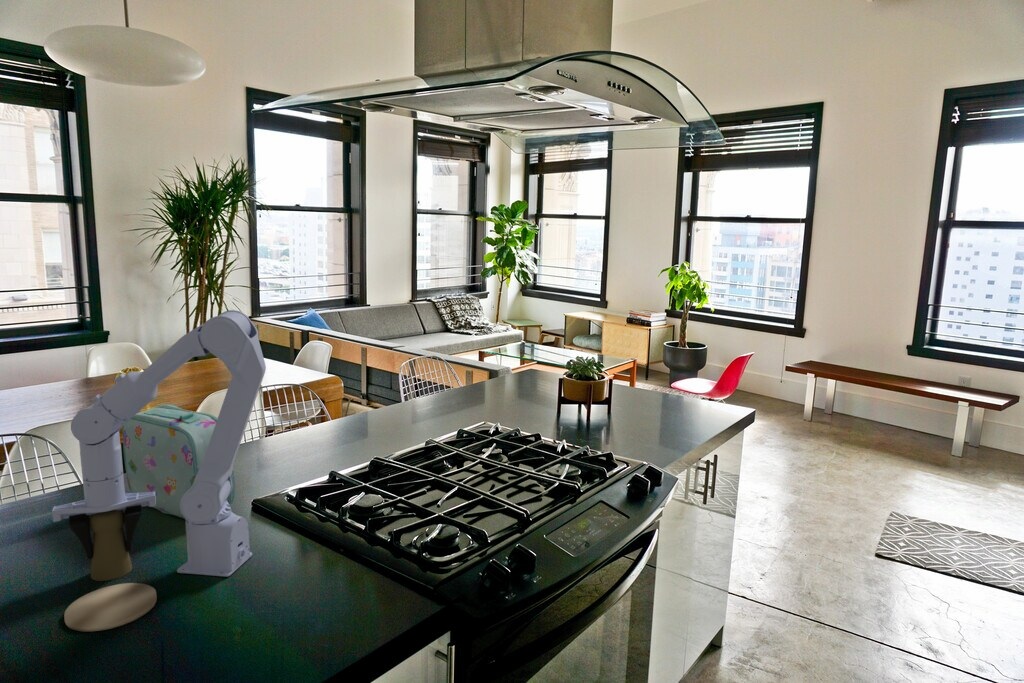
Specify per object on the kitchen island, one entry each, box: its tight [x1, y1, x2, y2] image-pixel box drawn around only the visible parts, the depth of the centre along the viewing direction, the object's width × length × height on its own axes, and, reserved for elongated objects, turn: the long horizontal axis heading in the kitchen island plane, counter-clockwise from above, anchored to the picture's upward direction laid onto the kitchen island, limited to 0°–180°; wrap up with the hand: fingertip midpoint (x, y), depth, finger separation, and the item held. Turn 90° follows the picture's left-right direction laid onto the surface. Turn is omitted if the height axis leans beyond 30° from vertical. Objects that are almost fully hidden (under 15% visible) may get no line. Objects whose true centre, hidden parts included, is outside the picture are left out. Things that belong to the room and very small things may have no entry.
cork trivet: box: [63, 582, 158, 632], centre depth 100 cm, size 12×12×1 cm
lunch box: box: [122, 404, 236, 520], centre depth 137 cm, size 27×10×21 cm, turn 61°
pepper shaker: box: [89, 510, 133, 582], centre depth 110 cm, size 6×6×11 cm
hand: (110, 552), depth 111 cm, fingers closed on pepper shaker, 5 cm apart
